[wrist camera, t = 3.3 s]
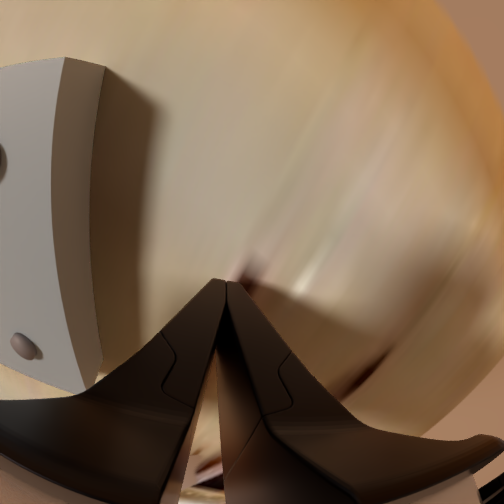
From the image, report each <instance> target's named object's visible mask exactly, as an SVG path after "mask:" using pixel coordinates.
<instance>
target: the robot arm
mask: <svg viewBox="0 0 504 504" xmlns="http://www.w3.org/2000/svg"><path fill="white" fill-rule="evenodd" d="M215 349H216V368H217V390H218V408H219V425H220V440H221V453H222V466H223V477H224V489H225V499H226V504H504V472H503V473H502V474H500V475H499V476H498V477H496V478H495V479H493V480H492V481H491V482H489V483H487V484H486V485H484V486H483V487H481V488H480V489H478V488H477V485H476V482H475V479H474V477H473V474H474V473H476V472H477V471H478V470H480V469H481V468H483V467H484V466H486V465H487V464H488V463H490V462H491V461H492V460H494V459H495V458H496V457H497V456H499V455H500V454H501V453H502V452H503V451H504V441H503V440H502V439H500V438H498V437H494V436H490V435H484V434H478V435H476V436H473V437H471V438H469V439H465V440H460V441H443V440H434V439H427V438H420V437H414V436H408V435H403V434H397V433H392V432H387V431H382V430H378V429H374V428H372V427H369V426H367V425H365V424H364V423H362V422H361V421H359V420H358V419H357V418H355V417H354V416H353V415H352V414H351V413H350V412H349V411H348V410H347V409H346V408H345V407H344V406H343V405H342V404H341V403H340V402H338V401H337V400H336V399H335V398H334V397H333V396H332V395H331V394H330V393H329V392H328V391H327V390H326V389H325V388H324V387H323V386H322V385H321V384H320V383H319V382H318V381H317V380H316V379H315V377H314V376H313V375H312V374H311V373H310V372H309V371H308V370H307V369H306V367H305V366H304V365H303V364H302V363H301V361H300V360H299V359H298V358H297V356H296V355H295V354H294V353H293V352H292V350H291V349H290V348H289V346H288V345H287V344H286V342H285V341H284V340H283V339H282V337H281V336H280V335H279V333H278V332H277V331H276V330H275V328H274V327H273V326H272V324H271V323H270V322H269V321H268V319H267V318H266V317H265V315H264V314H263V313H262V311H261V310H260V309H259V307H258V306H257V305H256V304H255V302H254V301H253V300H252V298H251V297H250V296H249V294H248V293H247V292H246V290H245V289H244V288H243V286H242V285H241V284H240V283H238V282H233V281H227V282H226V281H225V280H221V279H216V278H213V279H211V280H210V281H209V282H208V283H207V284H206V285H205V286H204V287H203V288H202V289H201V290H200V291H199V292H198V293H197V294H196V295H195V296H194V297H193V298H192V299H191V300H190V301H189V302H188V303H187V304H186V305H185V306H184V307H183V308H182V309H181V310H180V311H179V312H178V313H177V314H176V315H175V316H174V317H173V318H172V319H171V320H170V321H169V322H168V323H167V324H166V325H165V326H164V327H163V328H162V329H161V330H160V331H159V333H157V334H156V335H155V336H154V337H153V338H152V339H151V340H150V341H149V342H148V343H147V344H146V345H145V346H144V347H143V348H142V349H141V350H139V351H138V352H137V353H136V354H134V355H133V356H132V357H131V358H129V359H128V360H127V361H126V362H124V363H123V364H122V365H120V366H119V367H118V368H116V369H115V370H113V371H112V372H111V373H109V374H108V375H107V376H105V377H104V378H103V379H101V380H100V381H99V382H97V383H96V384H94V385H93V386H92V387H90V388H89V389H87V390H85V391H83V392H81V393H79V394H77V395H73V396H69V397H60V398H47V399H30V400H0V504H178V501H179V496H180V492H181V488H182V483H183V479H184V475H185V471H186V467H187V463H188V459H189V454H190V450H191V446H192V442H193V438H194V434H195V430H196V426H197V422H198V418H199V414H200V410H201V406H202V402H203V398H204V394H205V390H206V386H207V382H208V378H209V374H210V370H211V366H212V362H213V358H214V354H215Z"/></svg>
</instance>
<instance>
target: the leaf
mask: <svg viewBox="0 0 504 504" xmlns="http://www.w3.org/2000/svg"><path fill="white" fill-rule="evenodd" d="M105 67H106V66H102V65H98V64H94V63H90V62H86V61H82V60H77V59H73V58H68V57H60V58H51V59H44V60H37V61H31V62H25V63H20V64H15V65H10V66H5V67H1V68H0V363H1V364H3V365H5V366H7V367H9V368H11V369H13V370H15V371H17V372H20V373H22V374H24V375H26V376H29V377H31V378H33V379H36V380H38V381H41V382H43V383H46V384H48V385H51V386H54V387H56V388H59V389H62V390H65V391H67V392H70V393H73V394H76V395H77V394H79V393H81V392H83V391H85V390H87V389H89V388H90V387H92V386H93V385H94V383H95V380H96V378H97V375H98V372H99V370H100V367H101V364H102V362H103V354H102V349H101V343H100V338H99V331H98V325H97V318H96V310H95V302H94V293H93V283H92V271H91V255H90V221H89V211H90V178H91V162H92V150H93V140H94V132H95V124H96V116H97V110H98V103H99V97H100V92H101V86H102V81H103V76H104V72H105Z"/></svg>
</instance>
